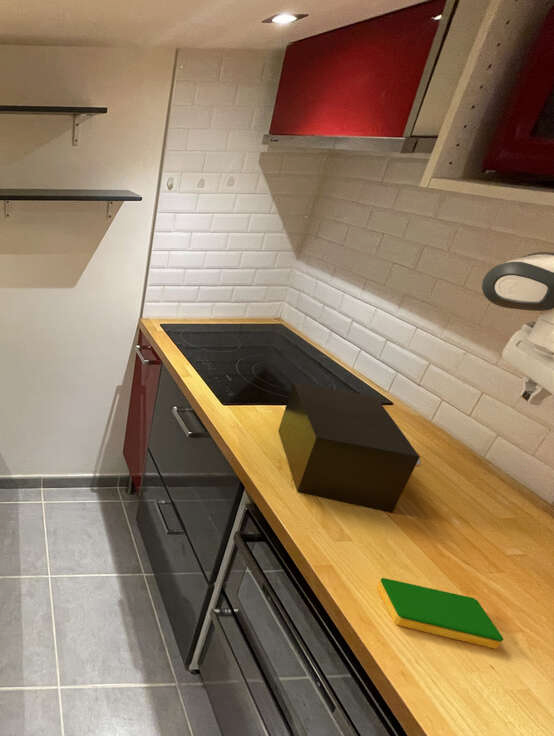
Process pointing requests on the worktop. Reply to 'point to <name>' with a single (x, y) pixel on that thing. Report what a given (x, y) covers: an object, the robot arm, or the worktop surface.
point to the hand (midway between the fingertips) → (529, 401)
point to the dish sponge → (439, 613)
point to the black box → (345, 447)
